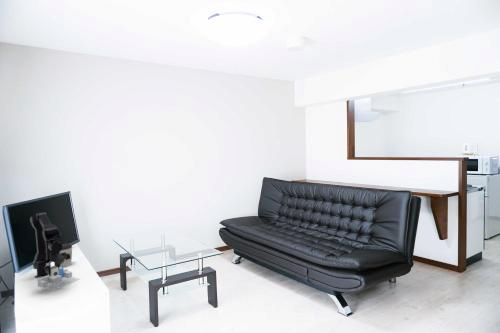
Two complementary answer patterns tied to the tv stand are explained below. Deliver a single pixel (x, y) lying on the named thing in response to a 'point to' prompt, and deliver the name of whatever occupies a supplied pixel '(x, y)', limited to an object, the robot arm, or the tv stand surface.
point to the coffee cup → (68, 249)
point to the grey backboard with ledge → (57, 280)
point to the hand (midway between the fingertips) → (53, 274)
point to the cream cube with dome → (54, 271)
